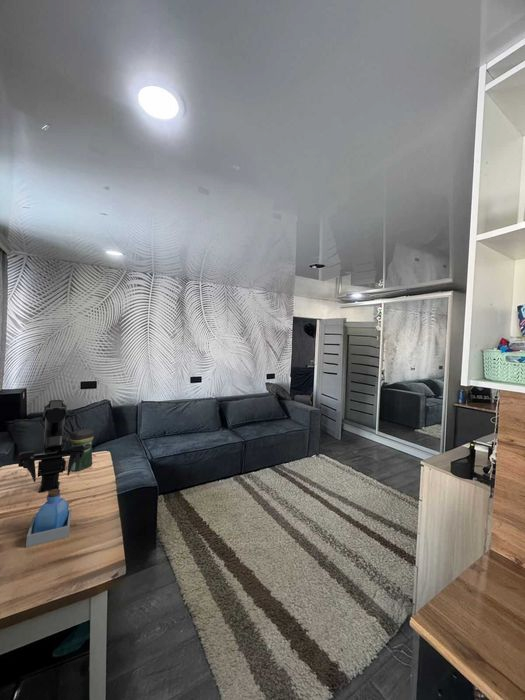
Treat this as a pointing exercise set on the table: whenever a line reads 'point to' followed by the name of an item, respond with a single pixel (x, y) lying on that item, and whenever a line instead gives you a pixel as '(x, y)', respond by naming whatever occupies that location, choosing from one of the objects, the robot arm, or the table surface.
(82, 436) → the coffee jar
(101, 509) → the table surface
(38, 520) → the perfume bottle
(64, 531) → the tray
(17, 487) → the table surface
